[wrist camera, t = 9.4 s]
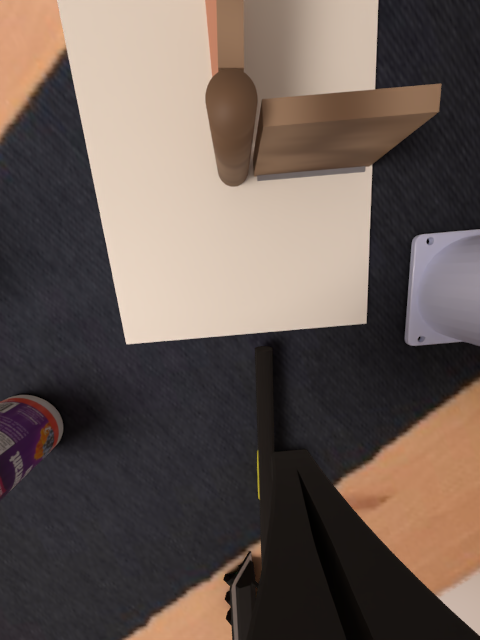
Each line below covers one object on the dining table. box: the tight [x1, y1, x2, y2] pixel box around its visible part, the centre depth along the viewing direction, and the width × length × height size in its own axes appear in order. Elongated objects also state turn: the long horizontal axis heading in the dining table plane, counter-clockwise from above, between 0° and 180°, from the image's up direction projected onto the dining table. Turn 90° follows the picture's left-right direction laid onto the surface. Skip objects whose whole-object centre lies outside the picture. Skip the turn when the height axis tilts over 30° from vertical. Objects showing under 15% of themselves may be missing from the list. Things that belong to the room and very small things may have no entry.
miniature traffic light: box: [224, 346, 274, 640], centre depth 20 cm, size 7×6×30 cm
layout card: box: [57, 0, 378, 344], centre depth 14 cm, size 18×24×1 cm
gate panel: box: [216, 0, 244, 72], centre depth 10 cm, size 8×1×5 cm, turn 0°
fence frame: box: [205, 68, 441, 187], centre depth 12 cm, size 10×2×6 cm, turn 95°
